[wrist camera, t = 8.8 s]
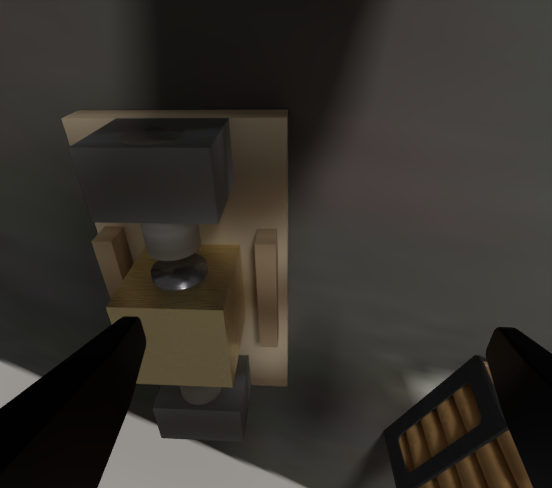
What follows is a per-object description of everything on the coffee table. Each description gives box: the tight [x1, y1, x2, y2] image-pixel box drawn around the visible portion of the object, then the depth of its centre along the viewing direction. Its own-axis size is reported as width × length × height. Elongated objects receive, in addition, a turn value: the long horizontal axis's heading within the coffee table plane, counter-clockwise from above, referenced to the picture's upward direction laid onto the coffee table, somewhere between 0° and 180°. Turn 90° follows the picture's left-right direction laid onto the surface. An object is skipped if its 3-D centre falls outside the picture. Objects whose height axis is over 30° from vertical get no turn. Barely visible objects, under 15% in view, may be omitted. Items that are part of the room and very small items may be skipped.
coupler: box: [106, 244, 246, 388], centre depth 19 cm, size 5×6×5 cm
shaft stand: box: [61, 109, 288, 442], centre depth 20 cm, size 18×10×6 cm, turn 1°
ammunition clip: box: [384, 355, 533, 488], centre depth 23 cm, size 11×2×12 cm, turn 154°
